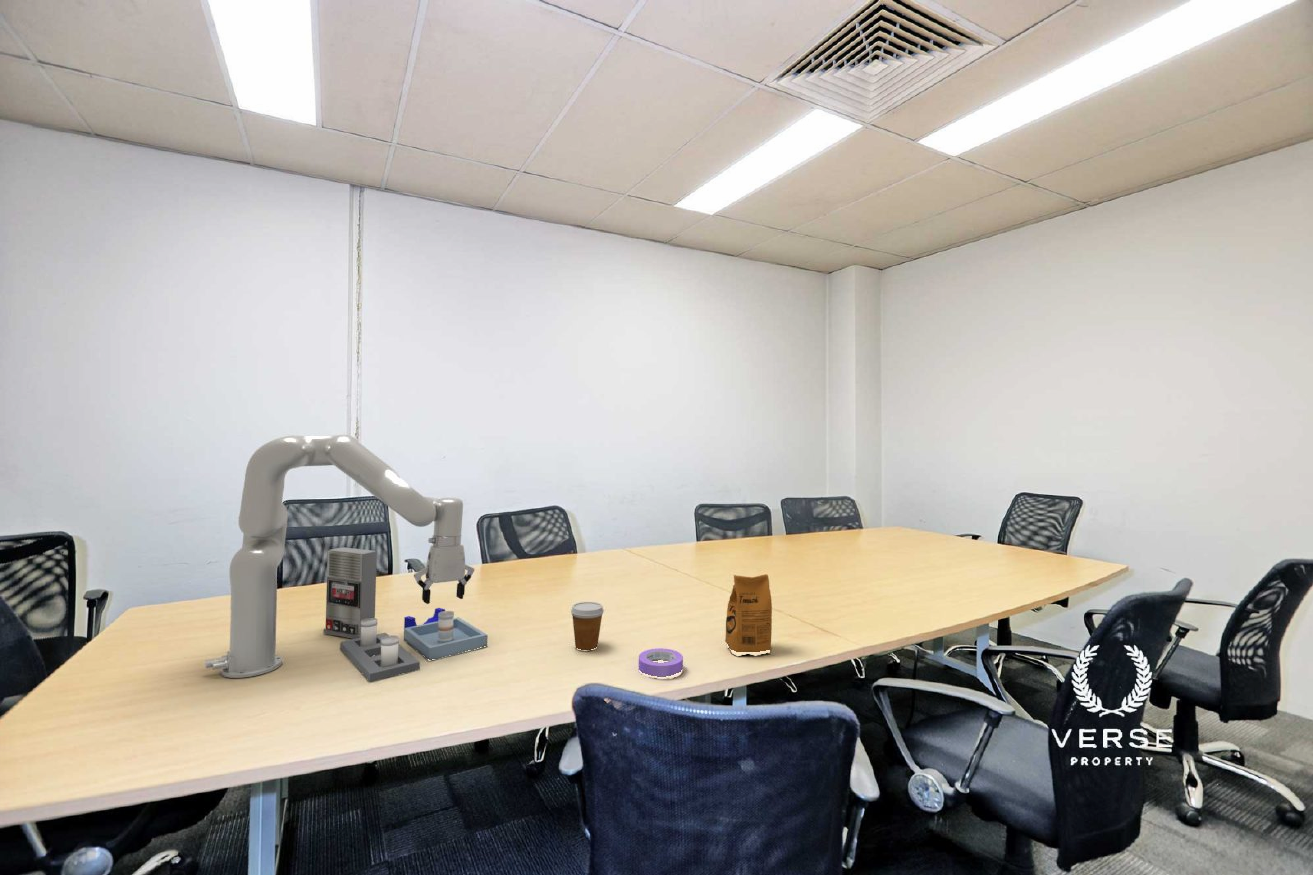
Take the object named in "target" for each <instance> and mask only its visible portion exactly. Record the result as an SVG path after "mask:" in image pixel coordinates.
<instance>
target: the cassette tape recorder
mask: <svg viewBox="0 0 1313 875" xmlns="http://www.w3.org/2000/svg"><path fill="white" fill-rule="evenodd" d="M377 553H378V552H377V550H370V549H364V548H363V549H361V548H360V549H359V548H355V547H354V548H351V547H344V546H343V547H338V548H332V549H328V550H327V556H326V557H327V561H326V562H327V563H326V564H327V565H326V595H325V596H326V600H325V602H326V603H325V628H323V629H322V630H323V632H322V633H323V634H325V635H331V636H336V637H343V638H348V639H356V638H361V620H363V619H367V618H376V592H377V558H378V555H377Z"/></svg>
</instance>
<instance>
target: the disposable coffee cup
mask: <svg viewBox="0 0 1313 875" xmlns="http://www.w3.org/2000/svg"><path fill="white" fill-rule="evenodd" d="M604 612H605V609H604V607H603V604H601V603H599V602H595V601H582V602H576V603H574V604H573V605H572V607H571V609H570V613H571V616H572V625H573V636H574V644H575V646H576V648H578V649H581V650H591V649H594V648H596V647H597V648H598V646H599V645H598V644H599V638H600V633H601V632H600V631H601V624H602V618H603V617H602V616H603V614H604ZM576 648H575V649H576Z"/></svg>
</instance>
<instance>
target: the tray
mask: <svg viewBox="0 0 1313 875" xmlns="http://www.w3.org/2000/svg"><path fill="white" fill-rule="evenodd" d="M422 624H423V625H422ZM422 624H418V625H417V626H413V627H408V628H403V641H404V642H405V641H406V642H407V643H406V642H405V643H406V644H408V645H409V646H410V647H411V646H412V647H411V648H413V649H414V650H415V651H416V650H417V651H418V652H417V651H416V652H417V653H418V654H419V655H421V656H422V655H424V656H425V657H424V656H423V657H424V659H426V658H427V659H429V660H432V659H436V660H440V659H439V658H441V659H443V658H442V657H445V656H449V655H453V656H456V655H455V654H457V655H459V654H458V653H461V654H463V653H462V652H465V651H468V650H473V651H475V650H474V649H477V648H480V647H484V646H487V647H488V637H489V636H488V634H487V633H486V632H484V631H482V630H480V629H479V628H477V627H475V626H474V625H472V624H470V623H469V622H467V621H466V620H464V619H462V618H461V617H459V616H458V617H453V641H451V642H447V643H439V642H438V625H439V621H438V622H433V623H428V624H424V623H422ZM477 650H478V649H477ZM465 653H466V652H465ZM449 657H450V656H449ZM445 658H446V657H445ZM427 659H426V660H427ZM432 661H433V660H432Z"/></svg>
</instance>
